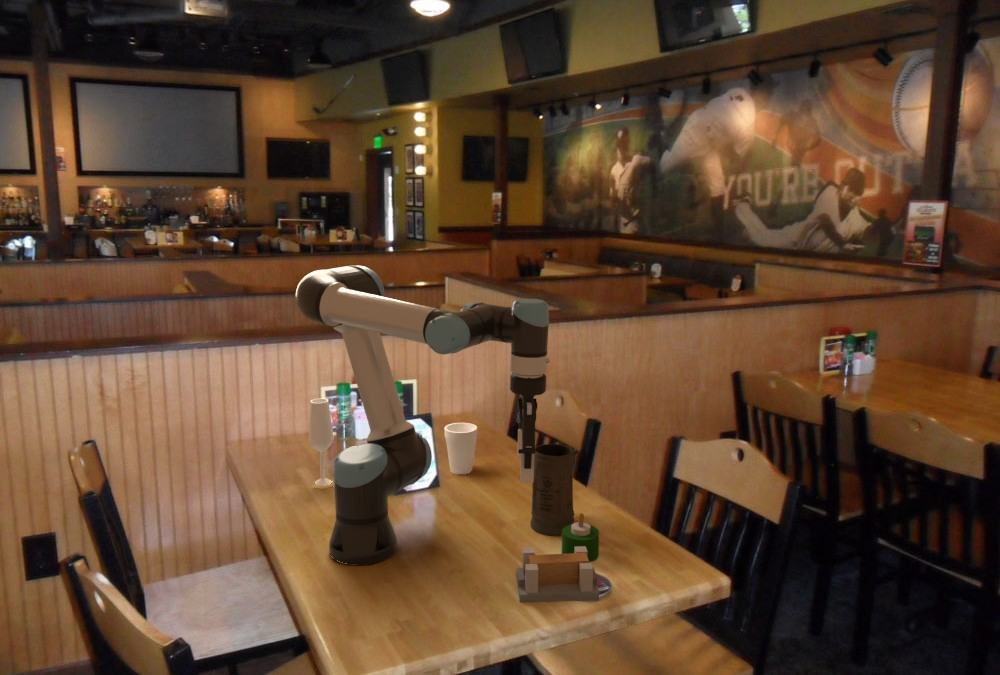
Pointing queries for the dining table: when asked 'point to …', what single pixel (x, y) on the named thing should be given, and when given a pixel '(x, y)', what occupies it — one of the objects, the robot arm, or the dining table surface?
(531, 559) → the block
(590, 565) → the jig
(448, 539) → the dining table surface
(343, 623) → the dining table surface
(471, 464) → the foam cup
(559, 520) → the beer stein
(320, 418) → the champagne flute
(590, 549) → the candle
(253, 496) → the dining table surface
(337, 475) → the robot arm
